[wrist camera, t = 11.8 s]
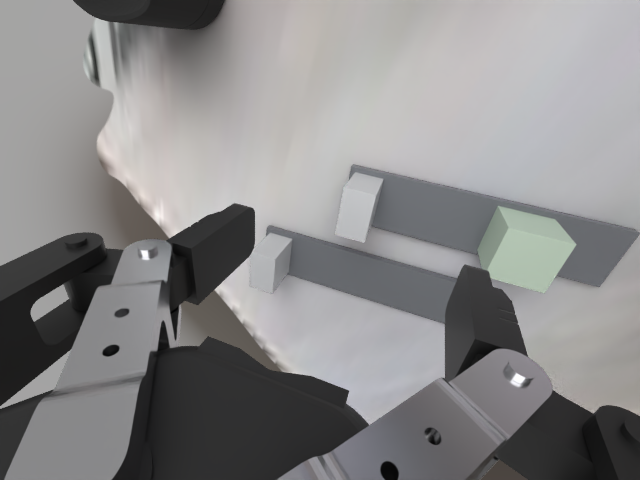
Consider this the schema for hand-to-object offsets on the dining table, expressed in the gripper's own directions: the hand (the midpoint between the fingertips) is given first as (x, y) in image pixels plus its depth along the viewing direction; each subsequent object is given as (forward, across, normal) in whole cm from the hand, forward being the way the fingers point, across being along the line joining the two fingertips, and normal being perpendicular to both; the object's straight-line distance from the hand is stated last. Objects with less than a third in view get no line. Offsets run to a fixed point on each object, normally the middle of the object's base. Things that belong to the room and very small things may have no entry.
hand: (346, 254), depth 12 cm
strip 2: (+22, -8, +6) cm, 25 cm away
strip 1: (+22, +1, +16) cm, 27 cm away
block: (+22, -12, +7) cm, 26 cm away
